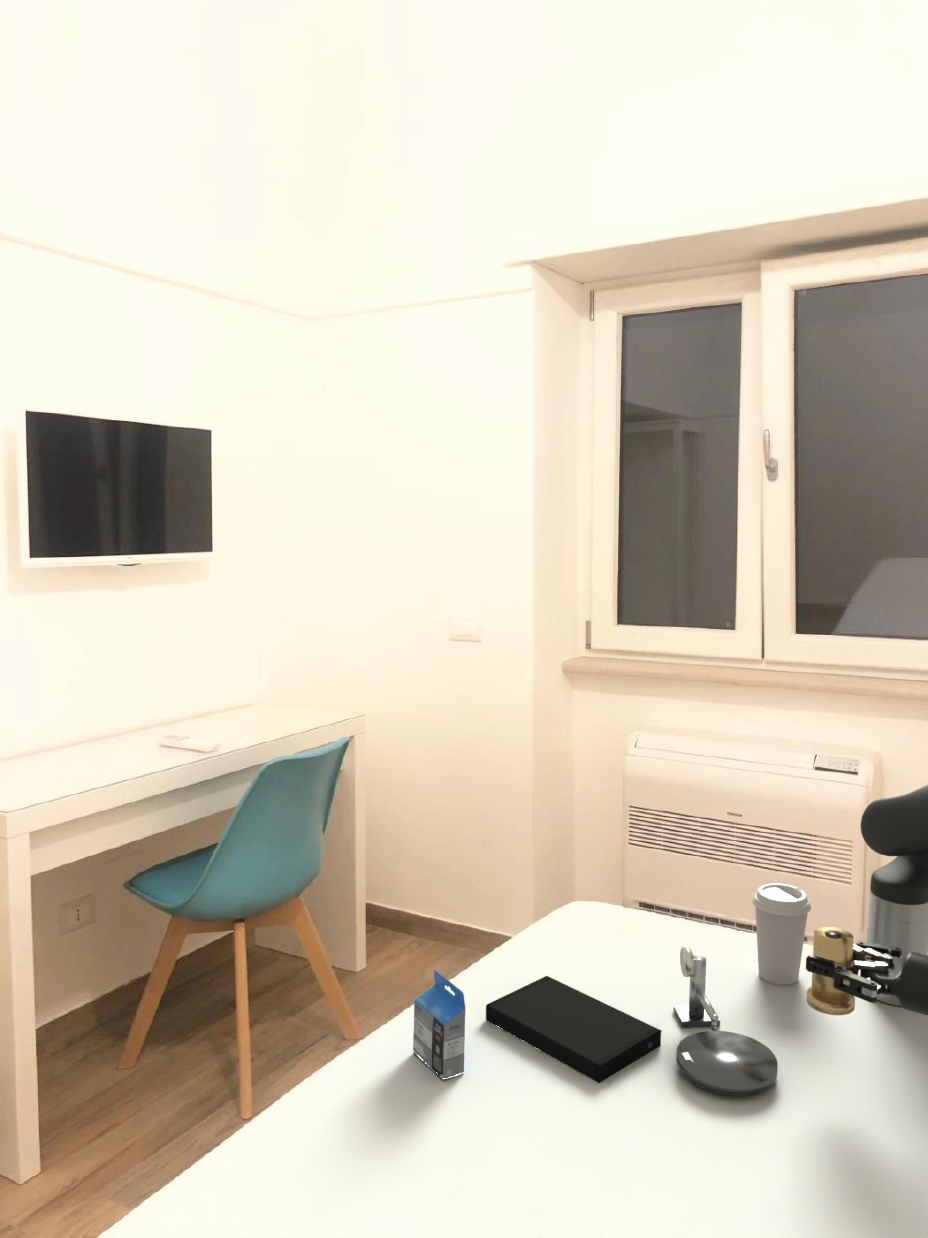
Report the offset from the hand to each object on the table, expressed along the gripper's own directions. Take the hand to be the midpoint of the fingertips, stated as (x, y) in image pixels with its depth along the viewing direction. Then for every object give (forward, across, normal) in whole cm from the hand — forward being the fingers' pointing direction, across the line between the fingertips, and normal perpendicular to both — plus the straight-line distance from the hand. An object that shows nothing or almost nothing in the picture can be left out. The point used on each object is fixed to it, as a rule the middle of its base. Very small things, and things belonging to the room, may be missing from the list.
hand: (814, 955), depth 146 cm
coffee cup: (+14, -26, +18) cm, 34 cm away
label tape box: (+44, +30, +18) cm, 56 cm away
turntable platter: (+9, +8, +18) cm, 21 cm away
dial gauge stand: (+17, -1, +18) cm, 24 cm away
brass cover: (-3, 0, +6) cm, 7 cm away
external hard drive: (+33, +11, +18) cm, 39 cm away
